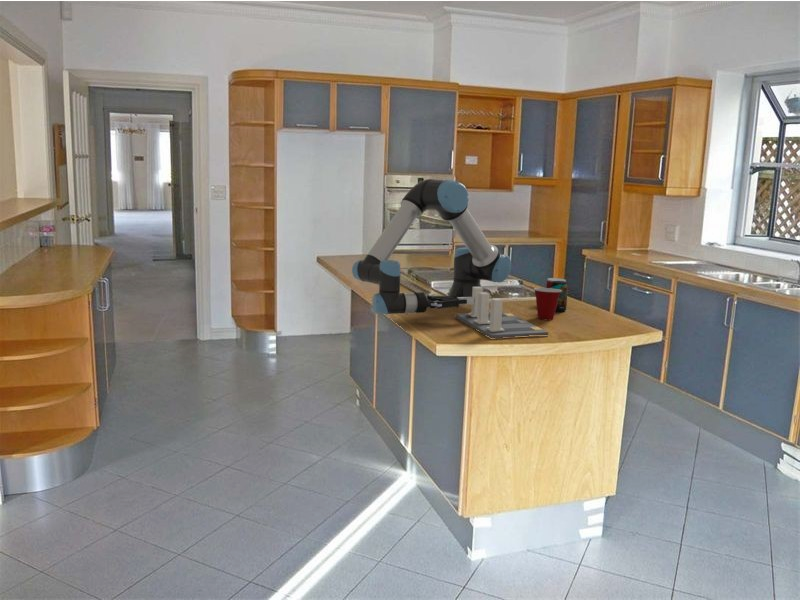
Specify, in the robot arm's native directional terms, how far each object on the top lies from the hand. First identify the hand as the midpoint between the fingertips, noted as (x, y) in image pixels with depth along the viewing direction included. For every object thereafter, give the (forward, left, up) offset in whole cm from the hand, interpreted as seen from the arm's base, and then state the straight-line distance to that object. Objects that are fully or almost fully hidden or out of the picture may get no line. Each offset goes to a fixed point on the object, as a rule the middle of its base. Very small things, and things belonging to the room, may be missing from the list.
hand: (473, 300), depth 267 cm
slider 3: (+21, 0, -6) cm, 22 cm away
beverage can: (-11, +43, -8) cm, 44 cm away
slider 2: (+10, 0, -6) cm, 12 cm away
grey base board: (+10, +7, -8) cm, 15 cm away
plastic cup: (+1, +31, -8) cm, 32 cm away
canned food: (-22, +48, -8) cm, 53 cm away
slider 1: (-1, +2, -6) cm, 6 cm away
